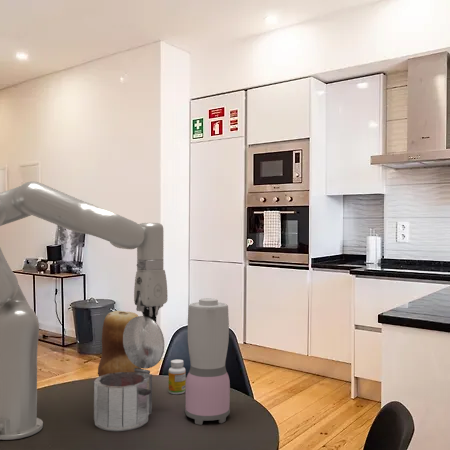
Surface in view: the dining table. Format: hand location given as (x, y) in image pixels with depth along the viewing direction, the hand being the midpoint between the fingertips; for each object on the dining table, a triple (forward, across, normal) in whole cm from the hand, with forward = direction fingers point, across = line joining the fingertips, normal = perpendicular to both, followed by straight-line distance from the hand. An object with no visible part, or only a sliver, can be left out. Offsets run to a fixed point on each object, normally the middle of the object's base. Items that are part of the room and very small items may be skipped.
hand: (150, 329), depth 143 cm
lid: (+4, -4, 0) cm, 5 cm away
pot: (+22, -12, 0) cm, 25 cm away
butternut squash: (+23, +7, +18) cm, 30 cm away
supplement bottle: (+23, +15, +2) cm, 28 cm away
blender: (+23, +4, -16) cm, 28 cm away
